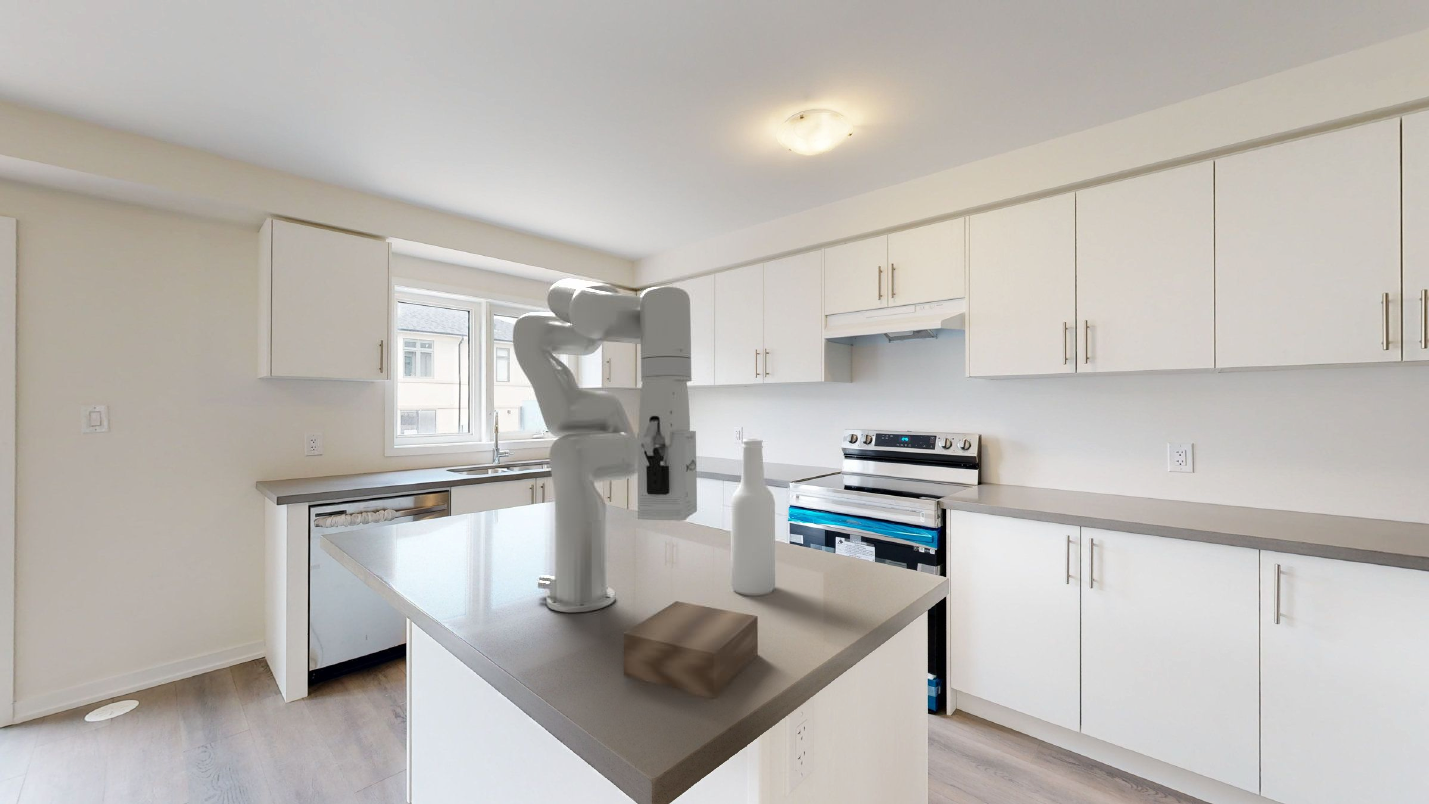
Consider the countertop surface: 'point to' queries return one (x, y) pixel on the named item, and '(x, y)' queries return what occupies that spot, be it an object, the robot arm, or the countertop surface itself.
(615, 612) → the countertop surface
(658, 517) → the supplement box
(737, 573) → the white bottle
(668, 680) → the walnut block
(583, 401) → the robot arm
